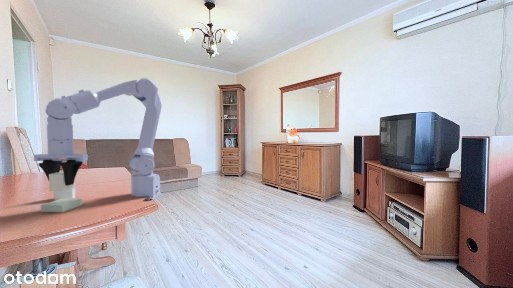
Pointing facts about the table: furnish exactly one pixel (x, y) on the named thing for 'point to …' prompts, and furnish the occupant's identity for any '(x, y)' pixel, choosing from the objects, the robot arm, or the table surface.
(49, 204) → the sage slab
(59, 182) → the cream block
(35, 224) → the table surface
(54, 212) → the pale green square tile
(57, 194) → the eye dropper bottle
